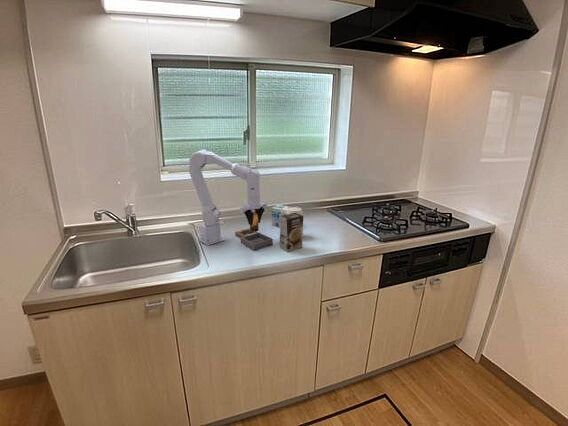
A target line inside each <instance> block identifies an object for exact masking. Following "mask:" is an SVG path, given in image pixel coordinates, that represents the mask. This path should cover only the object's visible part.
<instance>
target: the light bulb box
mask: <svg viewBox="0 0 568 426" xmlns="http://www.w3.org/2000/svg"><path fill="white" fill-rule="evenodd" d="M290 207H291V206H287V205H282V204H276V205H274V206H273V207H271V227H275V228H276V227H277V228H280V216H282V215H286V212H287V210H288V208H290Z"/></svg>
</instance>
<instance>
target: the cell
mask: <svg viewBox="0 0 568 426" xmlns="http://www.w3.org/2000/svg"><path fill="white" fill-rule="evenodd" d="M252 212H253V213H254V214H253V219H252V220H253V223H252V225H249V228H250V231H252V232H259V231H260V230H259V227H260V226H259V223H258V213H257V212H255V211H252Z"/></svg>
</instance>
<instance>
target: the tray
mask: <svg viewBox="0 0 568 426" xmlns="http://www.w3.org/2000/svg"><path fill="white" fill-rule="evenodd" d="M257 232H258V233H254V234H251V235H248V234H246V235H247V236H244V237H241V238H240V244H242V245H244V246H245V247H246V248H249V249H250V250H253V251H257V250H260V249H264V248H266V247H269V246H272V245H273V238H272V237H269V236H268V235H266V234H264V233H262V232H259V231H257Z"/></svg>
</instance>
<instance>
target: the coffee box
mask: <svg viewBox="0 0 568 426" xmlns="http://www.w3.org/2000/svg"><path fill="white" fill-rule="evenodd" d="M303 233H304V214H303V215H300V214H297V213H291V214H287V215H282V216H280V227H279V248H280V249H281V250H283V251H285V252H286V253H289V252H293V251H296V250H299V249H302V248H303V235H304V234H303Z"/></svg>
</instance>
